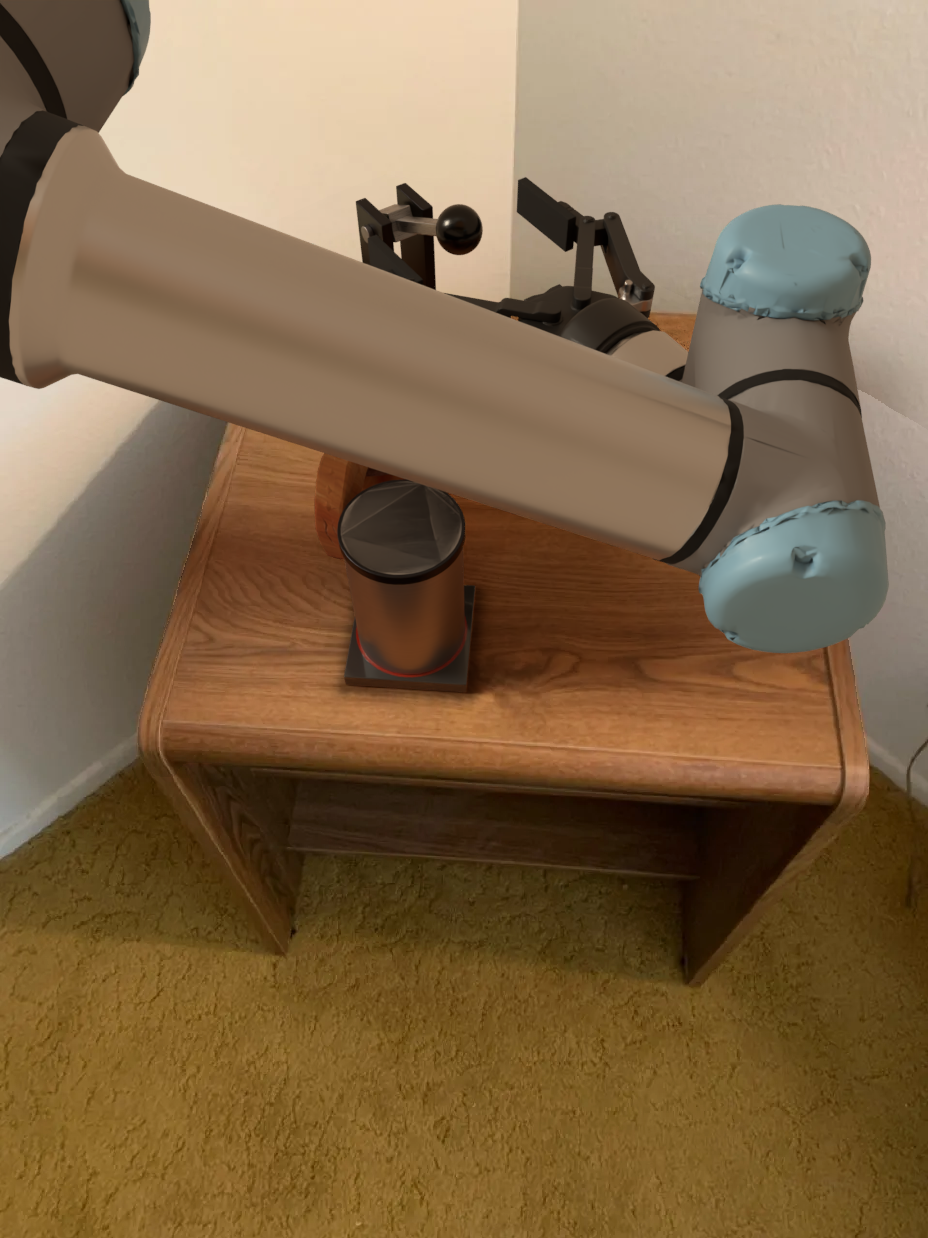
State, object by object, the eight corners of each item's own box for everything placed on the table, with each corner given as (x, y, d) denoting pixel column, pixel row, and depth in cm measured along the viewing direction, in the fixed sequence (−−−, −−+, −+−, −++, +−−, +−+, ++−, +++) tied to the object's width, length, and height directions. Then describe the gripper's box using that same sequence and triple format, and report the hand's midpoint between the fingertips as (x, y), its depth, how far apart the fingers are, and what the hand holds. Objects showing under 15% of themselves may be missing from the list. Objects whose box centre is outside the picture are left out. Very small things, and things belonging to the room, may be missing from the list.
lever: (496, 247, 71) (485, 198, 69) (456, 263, 70) (444, 213, 68) (411, 236, 82) (400, 193, 80) (376, 250, 81) (364, 207, 79)
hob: (345, 685, 68) (343, 676, 67) (362, 587, 73) (361, 578, 72) (466, 693, 68) (466, 684, 67) (475, 594, 73) (475, 584, 72)
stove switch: (459, 350, 89) (456, 207, 77) (388, 381, 87) (374, 239, 75) (420, 312, 93) (412, 169, 80) (351, 341, 90) (331, 199, 78)
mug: (360, 474, 80) (340, 333, 68) (450, 494, 79) (446, 353, 66) (296, 607, 72) (259, 474, 60) (394, 631, 71) (378, 500, 59)
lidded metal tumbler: (349, 673, 67) (327, 574, 58) (364, 582, 72) (347, 475, 62) (462, 680, 67) (460, 581, 57) (470, 588, 72) (469, 481, 62)
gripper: (467, 493, 61) (313, 321, 71) (748, 352, 68) (573, 214, 78) (467, 407, 54) (298, 231, 64) (776, 262, 62) (582, 125, 72)
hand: (449, 222), depth 71 cm, fingers open, 13 cm apart
